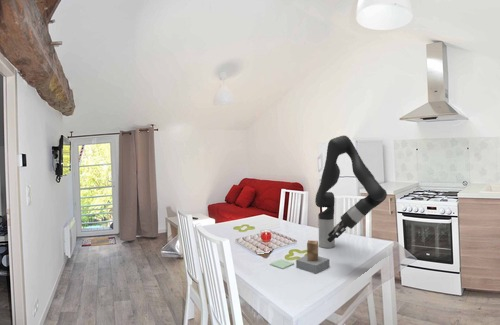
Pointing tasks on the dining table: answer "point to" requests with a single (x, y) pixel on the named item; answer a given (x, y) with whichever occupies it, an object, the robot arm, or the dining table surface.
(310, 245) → the walnut block
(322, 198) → the robot arm
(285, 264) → the mat
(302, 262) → the gray square slab
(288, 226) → the dining table surface
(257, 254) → the wooden fragment
